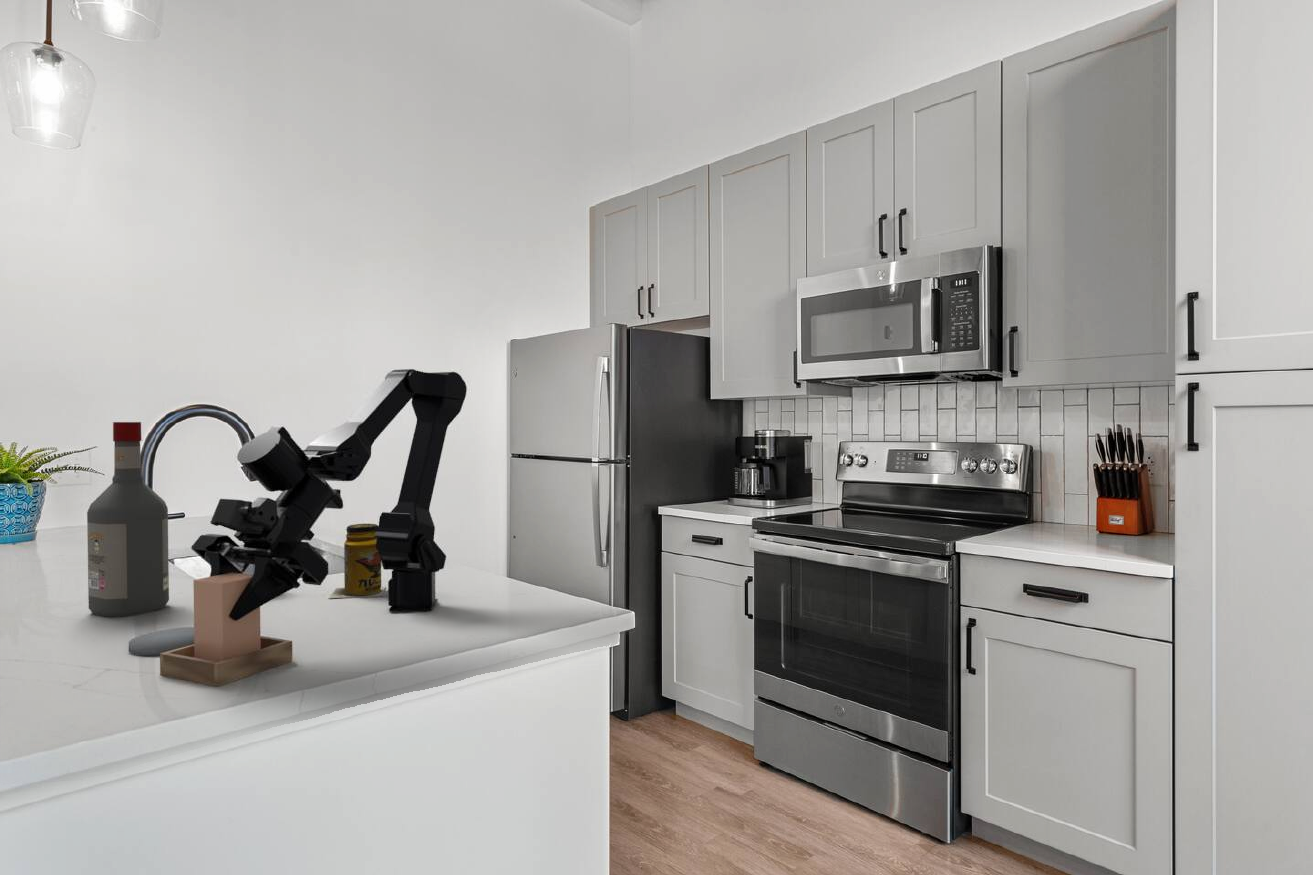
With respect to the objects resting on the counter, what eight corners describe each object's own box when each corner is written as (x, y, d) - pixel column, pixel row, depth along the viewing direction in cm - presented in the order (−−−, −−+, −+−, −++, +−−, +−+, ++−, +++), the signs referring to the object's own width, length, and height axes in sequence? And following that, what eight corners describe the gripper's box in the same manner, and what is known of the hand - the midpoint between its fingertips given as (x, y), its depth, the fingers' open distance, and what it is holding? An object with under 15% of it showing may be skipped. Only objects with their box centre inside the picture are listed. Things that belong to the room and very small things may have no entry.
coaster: (229, 632, 107) (229, 625, 107) (194, 654, 97) (194, 646, 97) (154, 634, 106) (154, 627, 106) (111, 656, 96) (111, 649, 96)
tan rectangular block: (232, 659, 95) (231, 572, 95) (260, 664, 93) (259, 575, 93) (194, 671, 90) (193, 580, 90) (223, 676, 88) (222, 583, 88)
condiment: (380, 596, 129) (380, 527, 129) (327, 599, 127) (327, 528, 127) (386, 587, 136) (385, 521, 136) (336, 590, 135) (335, 523, 134)
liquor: (113, 619, 114) (110, 422, 114) (82, 612, 118) (79, 422, 118) (175, 606, 122) (173, 422, 122) (144, 600, 127) (141, 422, 126)
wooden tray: (237, 651, 98) (236, 632, 98) (292, 660, 94) (292, 640, 94) (160, 674, 89) (159, 653, 89) (217, 686, 85) (217, 664, 85)
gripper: (204, 472, 99) (116, 571, 89) (308, 476, 91) (225, 585, 81) (258, 524, 106) (183, 621, 96) (359, 532, 98) (288, 638, 89)
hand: (216, 616), depth 90 cm, fingers closed on tan rectangular block, 5 cm apart
